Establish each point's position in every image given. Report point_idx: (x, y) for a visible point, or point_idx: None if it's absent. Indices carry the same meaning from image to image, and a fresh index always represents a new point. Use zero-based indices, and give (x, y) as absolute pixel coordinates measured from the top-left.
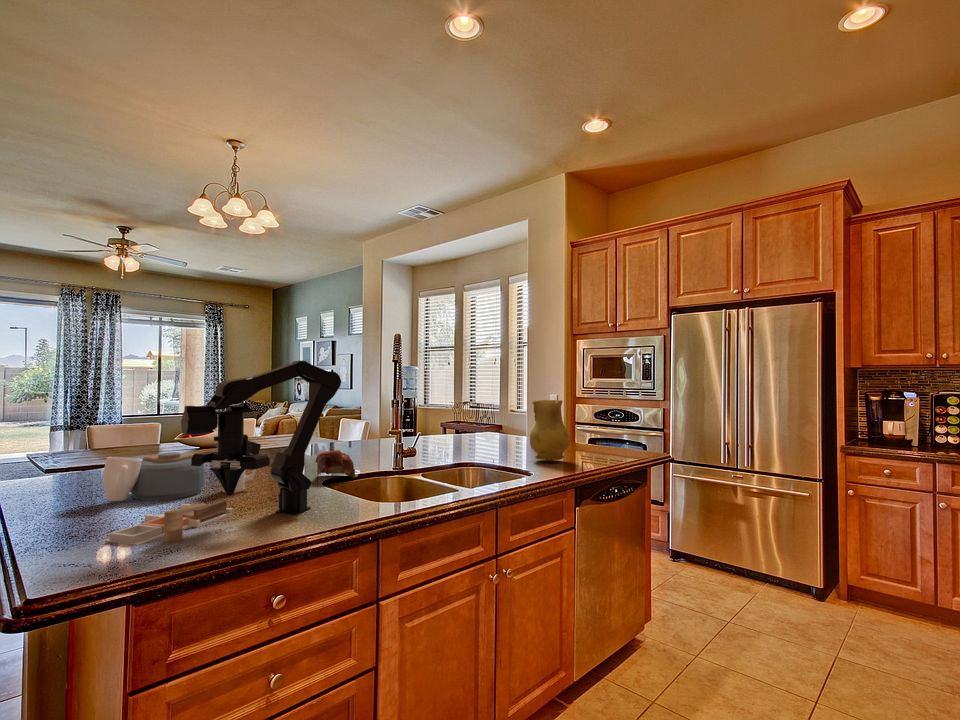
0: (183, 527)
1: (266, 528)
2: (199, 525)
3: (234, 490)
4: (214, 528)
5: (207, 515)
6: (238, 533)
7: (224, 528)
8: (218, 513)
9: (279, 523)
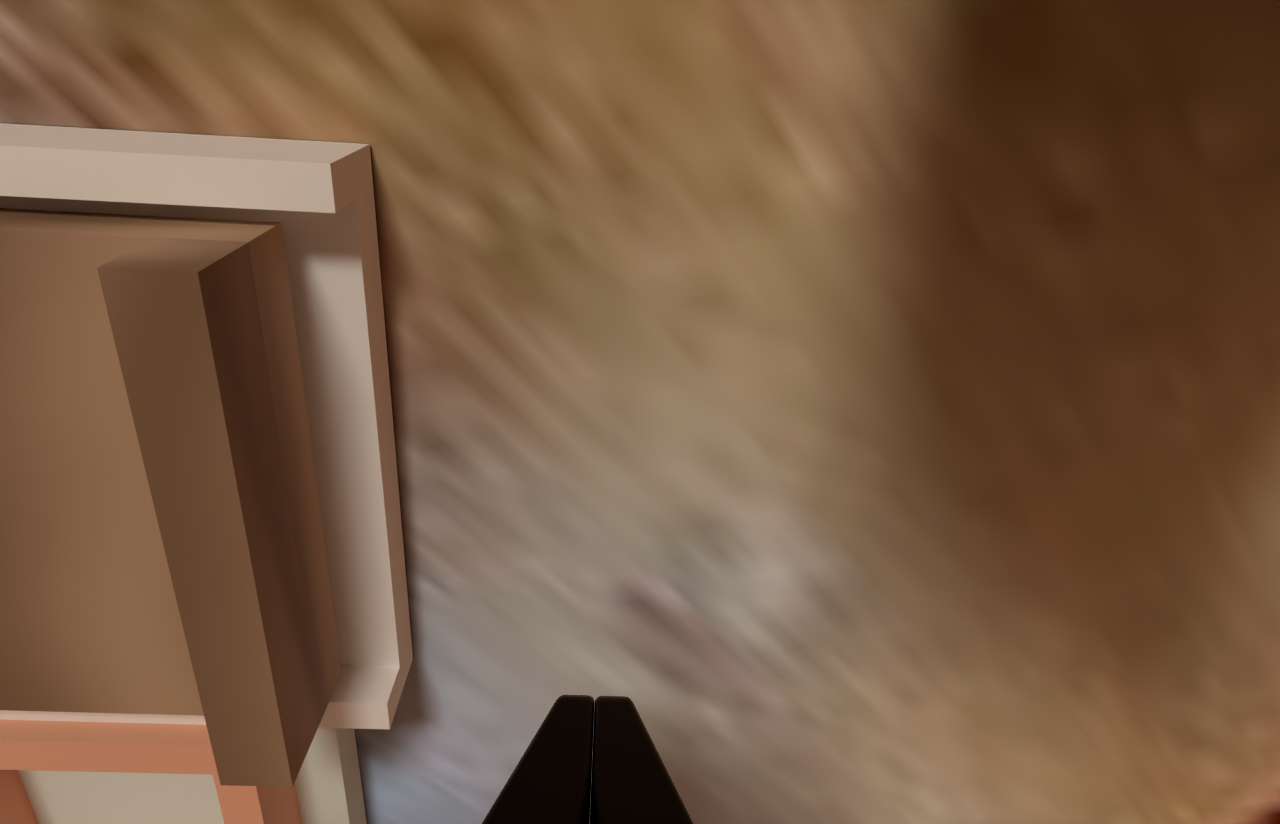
0: (332, 770)
1: (1138, 475)
2: (403, 666)
3: (664, 768)
4: (554, 596)
5: (313, 571)
6: (911, 656)
7: (660, 574)
8: (299, 384)
9: (1235, 274)
